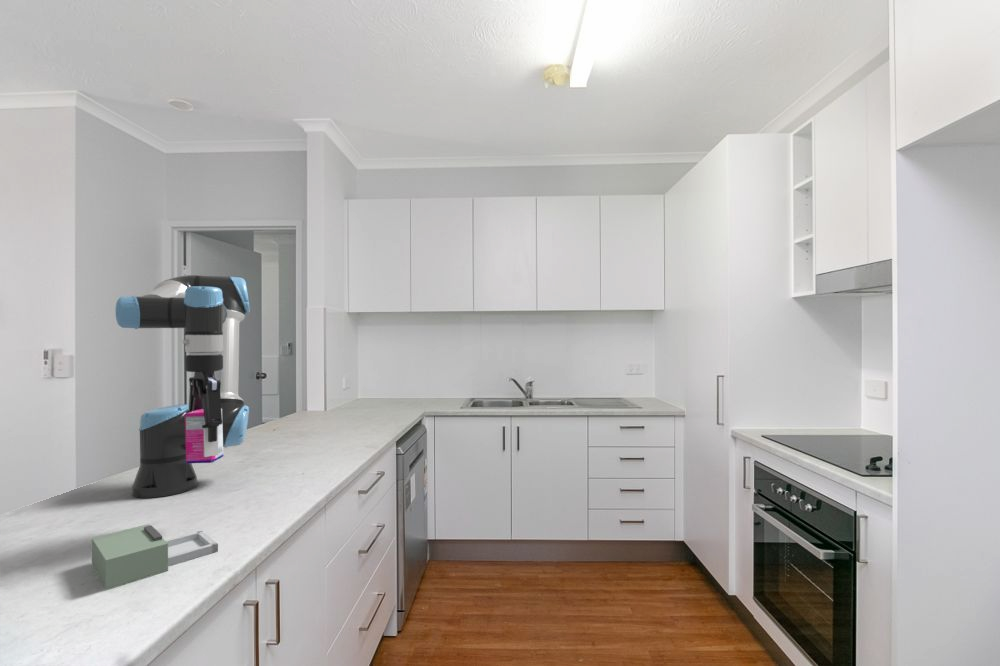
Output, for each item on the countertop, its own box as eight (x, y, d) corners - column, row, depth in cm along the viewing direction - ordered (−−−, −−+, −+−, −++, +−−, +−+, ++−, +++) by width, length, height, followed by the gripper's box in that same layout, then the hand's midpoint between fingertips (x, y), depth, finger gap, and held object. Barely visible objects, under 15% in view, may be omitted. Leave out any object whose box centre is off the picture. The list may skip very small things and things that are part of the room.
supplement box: (198, 457, 115) (197, 408, 115) (224, 456, 116) (224, 408, 116) (184, 463, 109) (184, 412, 109) (211, 463, 110) (211, 412, 110)
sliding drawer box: (91, 564, 93) (91, 534, 93) (198, 535, 106) (198, 509, 106) (106, 589, 83) (106, 556, 83) (221, 554, 97) (221, 525, 97)
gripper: (172, 353, 117) (173, 448, 117) (200, 356, 103) (201, 464, 103) (207, 351, 122) (208, 442, 122) (238, 354, 108) (239, 457, 108)
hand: (204, 452), depth 113 cm, fingers closed on supplement box, 8 cm apart
